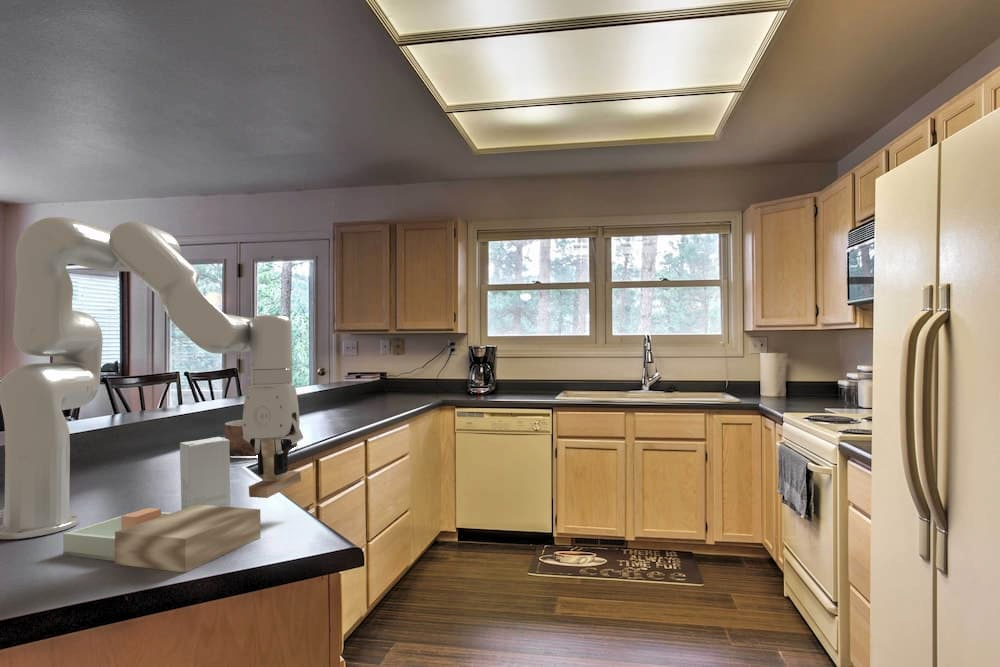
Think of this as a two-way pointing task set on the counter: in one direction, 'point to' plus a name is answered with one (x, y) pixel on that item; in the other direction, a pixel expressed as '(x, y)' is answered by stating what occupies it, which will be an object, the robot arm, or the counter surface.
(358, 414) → the counter surface
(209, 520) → the birch block
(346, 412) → the counter surface
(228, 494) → the skincare box
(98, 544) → the box
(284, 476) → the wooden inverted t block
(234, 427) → the cooking pot
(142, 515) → the salmon pink brick
